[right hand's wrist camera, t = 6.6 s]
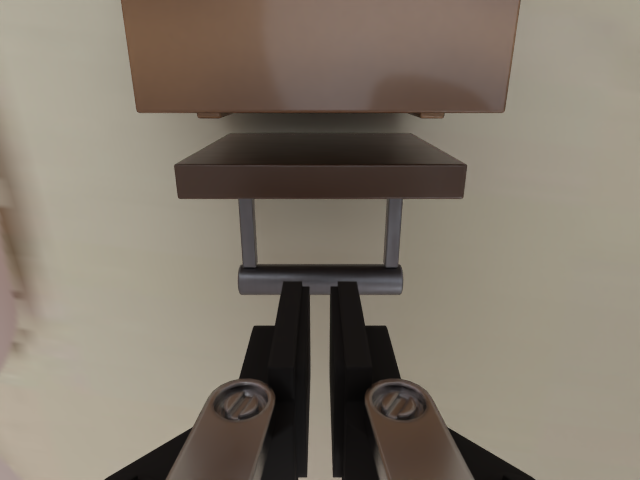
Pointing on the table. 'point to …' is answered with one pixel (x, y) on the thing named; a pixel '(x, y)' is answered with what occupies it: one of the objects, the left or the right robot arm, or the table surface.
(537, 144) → the table surface
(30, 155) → the table surface
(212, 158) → the drawer
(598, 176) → the table surface
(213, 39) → the cabinet
